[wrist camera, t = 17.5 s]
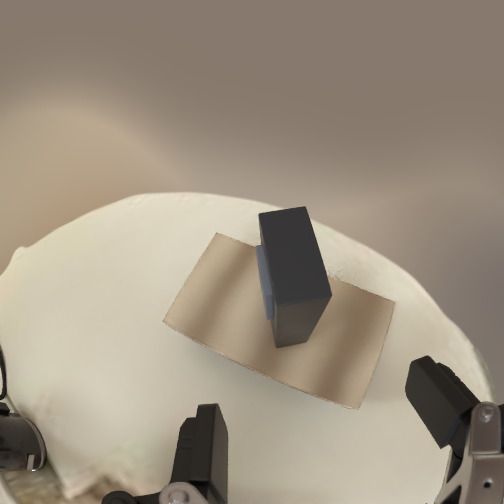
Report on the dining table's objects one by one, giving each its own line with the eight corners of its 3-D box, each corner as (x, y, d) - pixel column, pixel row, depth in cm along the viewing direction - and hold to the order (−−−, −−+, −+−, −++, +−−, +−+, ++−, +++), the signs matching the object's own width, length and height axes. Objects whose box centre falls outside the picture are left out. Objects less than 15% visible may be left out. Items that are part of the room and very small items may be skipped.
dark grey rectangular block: (270, 349, 23) (267, 308, 13) (260, 291, 26) (250, 214, 16) (306, 342, 23) (333, 295, 13) (294, 285, 26) (305, 205, 16)
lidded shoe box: (186, 338, 32) (162, 321, 25) (227, 265, 37) (216, 232, 30) (338, 407, 27) (358, 410, 20) (371, 323, 31) (395, 302, 24)
